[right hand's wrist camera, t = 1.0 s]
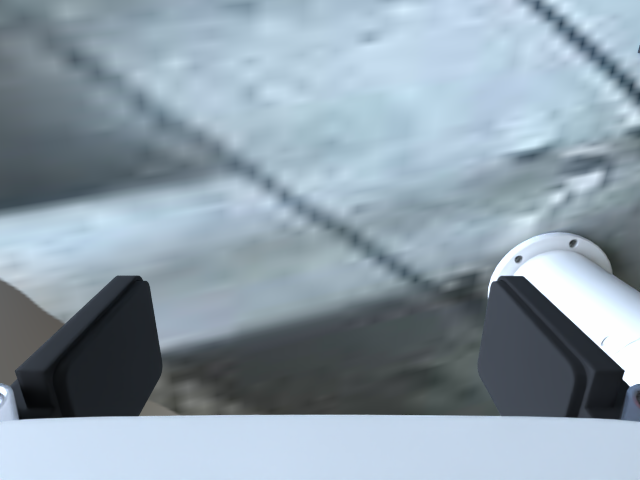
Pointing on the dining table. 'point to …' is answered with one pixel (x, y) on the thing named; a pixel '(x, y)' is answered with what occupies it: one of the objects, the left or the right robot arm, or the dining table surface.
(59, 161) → the dining table surface
